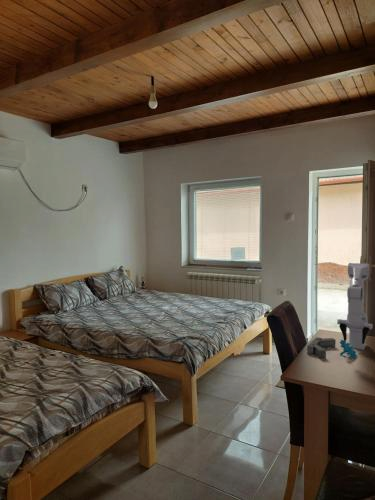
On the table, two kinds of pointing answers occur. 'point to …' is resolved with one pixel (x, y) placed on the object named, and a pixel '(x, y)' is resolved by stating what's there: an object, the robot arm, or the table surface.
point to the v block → (320, 346)
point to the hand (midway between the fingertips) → (354, 341)
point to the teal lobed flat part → (347, 349)
